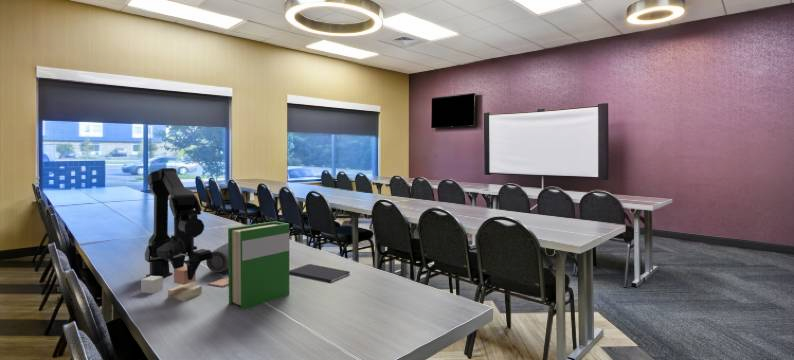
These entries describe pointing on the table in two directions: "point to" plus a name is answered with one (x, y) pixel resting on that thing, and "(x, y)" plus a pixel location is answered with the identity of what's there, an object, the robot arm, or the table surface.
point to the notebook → (319, 273)
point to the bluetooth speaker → (219, 259)
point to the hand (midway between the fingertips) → (184, 278)
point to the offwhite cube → (151, 284)
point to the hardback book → (258, 263)
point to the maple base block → (184, 292)
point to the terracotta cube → (182, 276)
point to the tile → (220, 283)
